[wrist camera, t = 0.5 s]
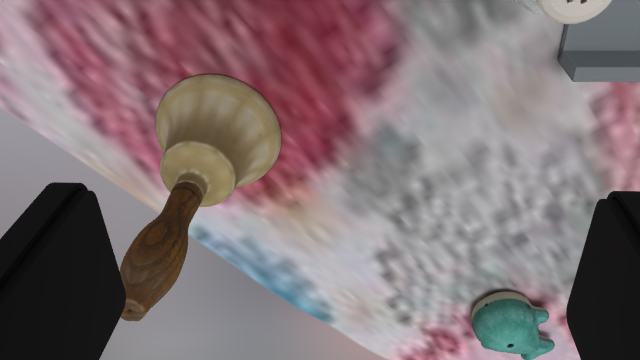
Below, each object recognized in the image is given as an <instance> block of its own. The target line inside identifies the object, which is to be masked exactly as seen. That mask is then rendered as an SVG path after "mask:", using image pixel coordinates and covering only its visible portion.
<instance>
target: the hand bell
mask: <svg viewBox="0 0 640 360" xmlns="http://www.w3.org/2000/svg"><path fill="white" fill-rule="evenodd" d="M155 124H156V133H157V137H158V141H159V144H160V146H161V149H162V151H163V153H164V154H163V157H162V159H161V163H160V173H161V177H162V180H163V183H164V184H165V186H166V188H167V189H168V190H169V191H170V192H171V194H170V196H169V198H168V200H167V202H166V205H165V207H164V209H163V211H162V213H161V214H160V215H159V216H158V217H157V218H156V219H155V220H153V221H152V222H151V223H149V224H148V225H147V226H146V227H145V228H144V229H143V230H142V231H141V232H140V233H139V234H138V236H137V237H136V238H135V239H134V241H133V242H132V244H131V246H130V247H129V249H128V251H127V252H126V255H125V256H124V259H123V261H122V265H121V268H120V275H121V278H122V281H123V285H124V288H125V292H126V304H125V308H124V310H123V313H122V315H121V318H122V319H124V320H126V321H139V320H141V319H142V318H143V317H144V316H145V314H146V313H147V312H148V311H149V309H150V308H151V307H153V306H154V305H155V304H156V303H157V302H158V301H159V300H160V299H161V298H162V297H163V296H164V295H165V294H166V293H167V292H168V291H169V290H170V289H171V287H172V286H173V285H174V283H175V282H176V280H177V278H178V276H179V274H180V271H181V269H182V266H183V263H184V260H185V257H186V253H187V247H188V227H189V224H190V222H191V220H192V218H193V216H194V214H195V213H196V211H197V209H198V207H199V206H200V207H206V206H213V205H216V204H219V203H221V202H222V201H224V200H225V199H227V198H228V197H229V196H230V194H231V193H232V192H233V190H234V188H235V187H240V186H244V185H247V184H250V183H252V182H254V181H256V180H258V179H259V178H261V177H262V176H264V175H265V174H266V173H267V172H268V171H269V170H270V169H271V168H272V166H273V165H274V164H275V162H276V160H277V158H278V155H279V152H280V148H281V130H280V125H279V122H278V119H277V116H276V115H275V113H274V111H273V109H272V108H271V106H270V105H269V103H268V102H267V101H266V100H265V99H264V98H263V97H262V95H260V94H259V93H258V92H257V91H256V90H254V89H253V88H251V87H250V86H248V85H247V84H245V83H243V82H241V81H239V80H236V79H234V78H231V77H227V76H223V75H215V74H204V75H198V76H193V77H189V78H187V79H184V80H182V81H180V82H178V83H176V84H175V85H174V86H173V87H172V88H171V89H169V90H168V91H167V93H166V94H165V95H164V97H163V98H162V100H161V102H160V104H159V106H158V109H157V113H156V123H155Z"/></svg>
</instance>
